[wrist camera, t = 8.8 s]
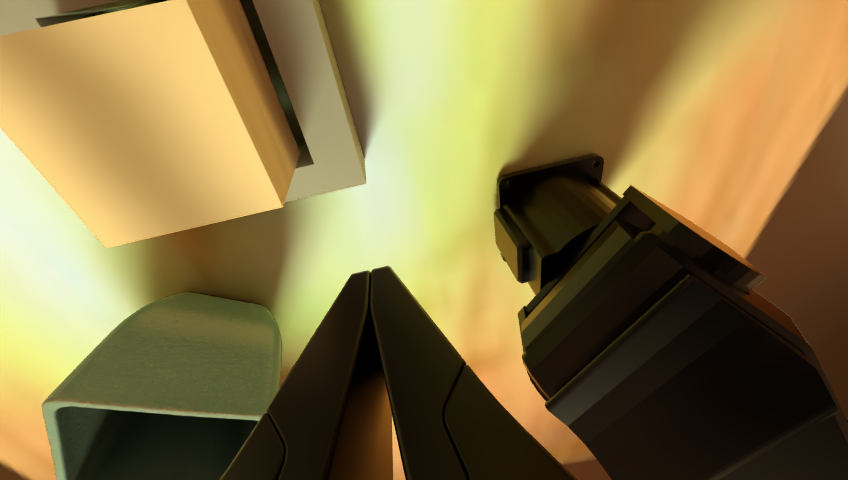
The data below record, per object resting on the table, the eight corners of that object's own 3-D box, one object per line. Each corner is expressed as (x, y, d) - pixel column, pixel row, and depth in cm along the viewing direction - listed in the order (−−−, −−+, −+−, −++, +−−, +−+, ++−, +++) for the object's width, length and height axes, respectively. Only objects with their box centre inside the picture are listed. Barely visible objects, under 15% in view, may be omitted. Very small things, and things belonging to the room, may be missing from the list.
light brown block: (237, -5, 13) (184, -4, 9) (300, 153, 16) (282, 207, 12) (68, 31, 13) (-67, 50, 9) (168, 183, 16) (105, 248, 12)
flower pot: (142, 355, 25) (56, 505, 18) (146, 258, 21) (36, 401, 14) (275, 370, 28) (248, 503, 21) (301, 288, 24) (278, 418, 17)
